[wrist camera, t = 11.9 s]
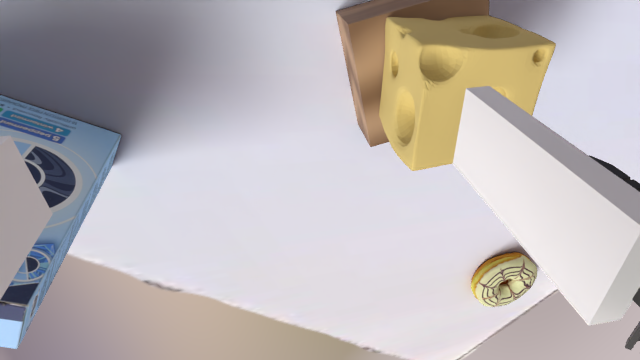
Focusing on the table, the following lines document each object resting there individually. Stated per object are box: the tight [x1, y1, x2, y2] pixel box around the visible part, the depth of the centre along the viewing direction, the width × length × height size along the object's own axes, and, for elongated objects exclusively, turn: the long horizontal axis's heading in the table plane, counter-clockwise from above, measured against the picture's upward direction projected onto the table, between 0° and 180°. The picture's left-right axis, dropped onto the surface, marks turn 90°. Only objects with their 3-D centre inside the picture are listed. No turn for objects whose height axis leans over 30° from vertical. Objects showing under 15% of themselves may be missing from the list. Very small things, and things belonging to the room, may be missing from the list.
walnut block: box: [336, 0, 489, 147], centre depth 41 cm, size 13×13×6 cm
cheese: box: [379, 15, 556, 171], centre depth 35 cm, size 10×11×10 cm
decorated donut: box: [471, 252, 537, 307], centre depth 66 cm, size 10×11×4 cm
